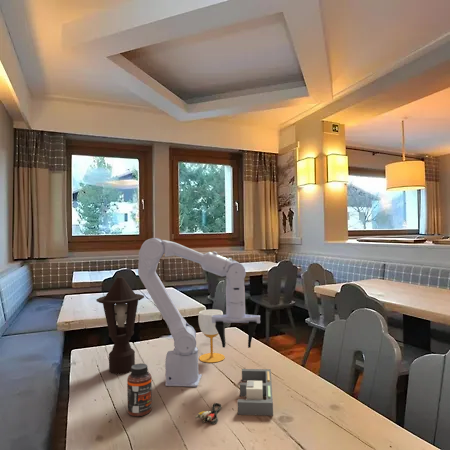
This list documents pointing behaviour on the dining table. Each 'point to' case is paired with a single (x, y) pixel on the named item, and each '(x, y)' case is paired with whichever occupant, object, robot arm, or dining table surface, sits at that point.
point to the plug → (254, 390)
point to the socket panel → (256, 405)
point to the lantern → (120, 324)
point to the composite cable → (210, 414)
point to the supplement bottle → (139, 390)
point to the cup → (209, 334)
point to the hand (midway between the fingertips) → (236, 346)
